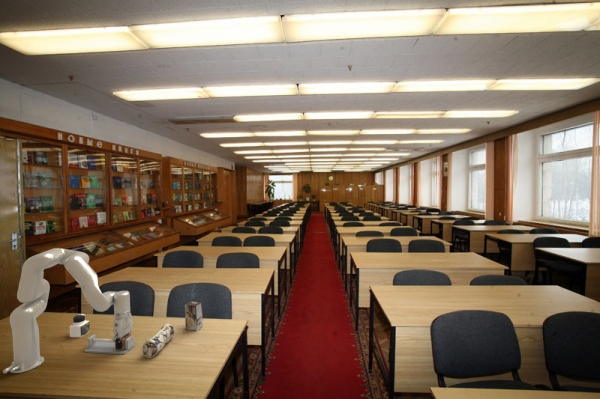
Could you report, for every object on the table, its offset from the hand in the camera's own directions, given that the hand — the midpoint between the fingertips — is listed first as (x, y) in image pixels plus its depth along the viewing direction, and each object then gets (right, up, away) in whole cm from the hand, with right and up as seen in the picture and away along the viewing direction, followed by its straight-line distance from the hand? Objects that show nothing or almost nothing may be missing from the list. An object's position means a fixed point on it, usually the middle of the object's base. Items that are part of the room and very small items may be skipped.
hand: (123, 345), depth 159 cm
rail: (-8, -2, +1) cm, 8 cm away
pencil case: (+20, -3, +2) cm, 20 cm away
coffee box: (+31, -1, +24) cm, 39 cm away
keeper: (0, -1, 0) cm, 1 cm away
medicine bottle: (-37, -2, +17) cm, 41 cm away
